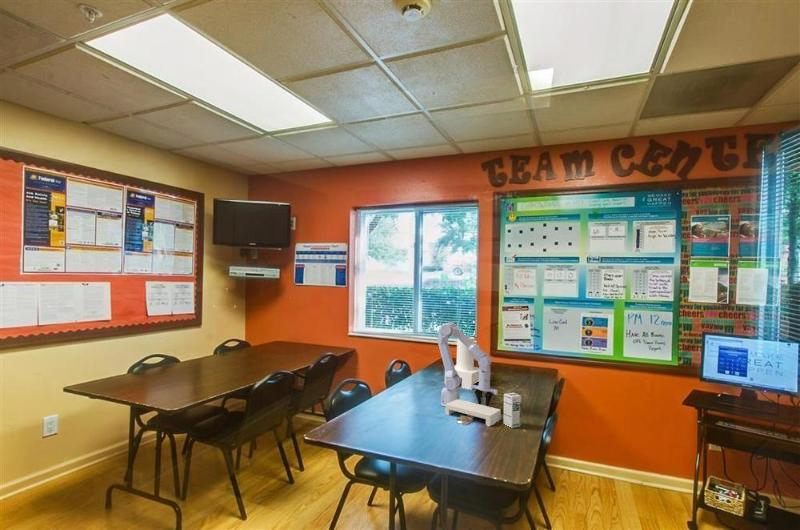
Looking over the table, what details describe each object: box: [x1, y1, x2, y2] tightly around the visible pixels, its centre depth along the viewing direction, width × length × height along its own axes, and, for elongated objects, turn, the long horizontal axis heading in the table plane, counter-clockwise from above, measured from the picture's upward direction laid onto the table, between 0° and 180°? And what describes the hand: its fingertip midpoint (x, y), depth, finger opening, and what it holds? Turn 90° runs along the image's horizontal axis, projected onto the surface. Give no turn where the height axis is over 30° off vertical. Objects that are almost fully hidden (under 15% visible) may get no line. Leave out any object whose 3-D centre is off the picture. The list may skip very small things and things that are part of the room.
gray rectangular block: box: [459, 395, 486, 423], centre depth 203 cm, size 22×6×7 cm, turn 142°
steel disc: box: [456, 417, 470, 426], centre depth 192 cm, size 6×6×1 cm
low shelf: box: [444, 399, 502, 427], centre depth 200 cm, size 24×12×5 cm, turn 52°
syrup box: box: [503, 392, 522, 429], centre depth 191 cm, size 6×6×14 cm
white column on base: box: [444, 335, 479, 391], centre depth 262 cm, size 19×19×30 cm
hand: (483, 405), depth 210 cm, fingers open, 3 cm apart
